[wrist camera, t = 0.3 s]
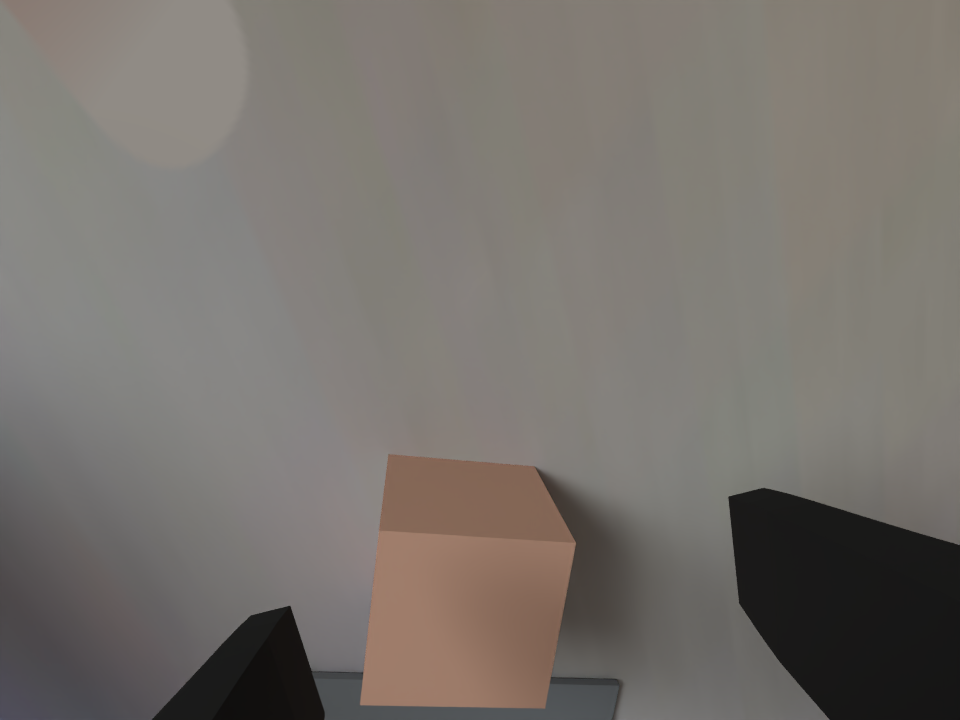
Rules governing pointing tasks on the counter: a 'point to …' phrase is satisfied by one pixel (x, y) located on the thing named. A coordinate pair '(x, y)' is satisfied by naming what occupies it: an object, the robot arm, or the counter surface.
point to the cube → (465, 586)
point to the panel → (567, 715)
